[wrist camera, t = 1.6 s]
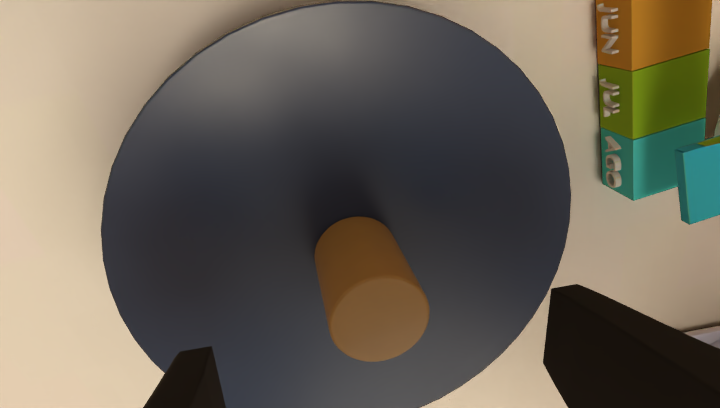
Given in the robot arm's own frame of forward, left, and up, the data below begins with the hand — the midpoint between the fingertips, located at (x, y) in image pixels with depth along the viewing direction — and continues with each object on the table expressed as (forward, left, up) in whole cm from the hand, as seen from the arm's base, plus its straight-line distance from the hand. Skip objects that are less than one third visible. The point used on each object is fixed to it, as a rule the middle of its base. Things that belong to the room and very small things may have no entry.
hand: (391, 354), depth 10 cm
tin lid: (0, 0, -5) cm, 5 cm away
